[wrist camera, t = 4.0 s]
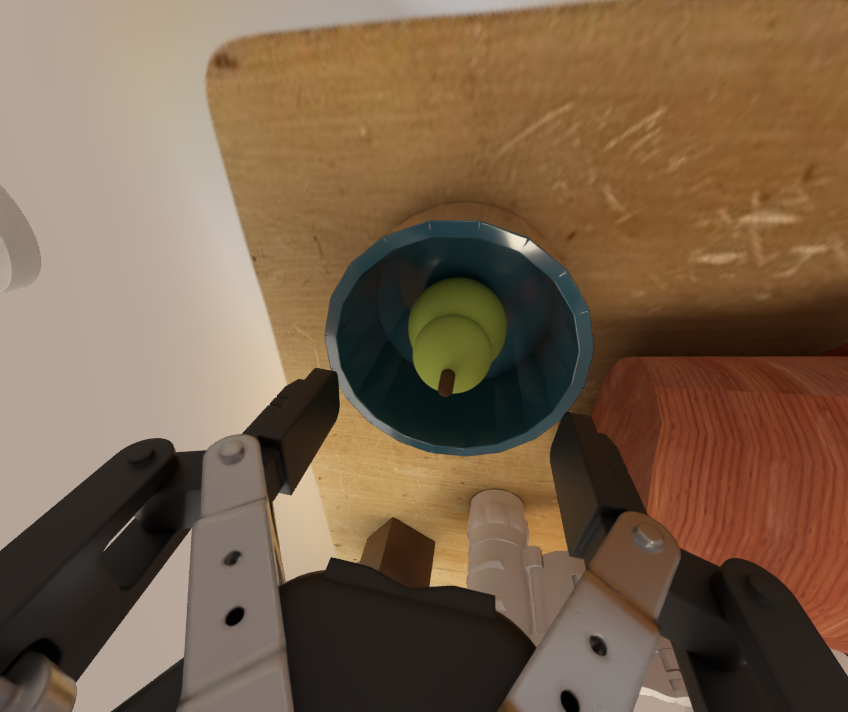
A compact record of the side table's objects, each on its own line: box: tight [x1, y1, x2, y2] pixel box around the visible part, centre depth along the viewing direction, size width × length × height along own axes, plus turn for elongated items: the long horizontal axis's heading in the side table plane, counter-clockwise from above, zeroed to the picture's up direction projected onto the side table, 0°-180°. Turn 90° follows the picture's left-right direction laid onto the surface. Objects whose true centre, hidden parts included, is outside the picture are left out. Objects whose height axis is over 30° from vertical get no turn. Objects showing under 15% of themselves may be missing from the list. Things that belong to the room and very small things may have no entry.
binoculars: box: [467, 489, 694, 712], centre depth 21 cm, size 17×5×18 cm, turn 98°
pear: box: [408, 277, 507, 397], centre depth 16 cm, size 5×5×9 cm
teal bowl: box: [325, 202, 594, 456], centre depth 18 cm, size 12×12×7 cm
